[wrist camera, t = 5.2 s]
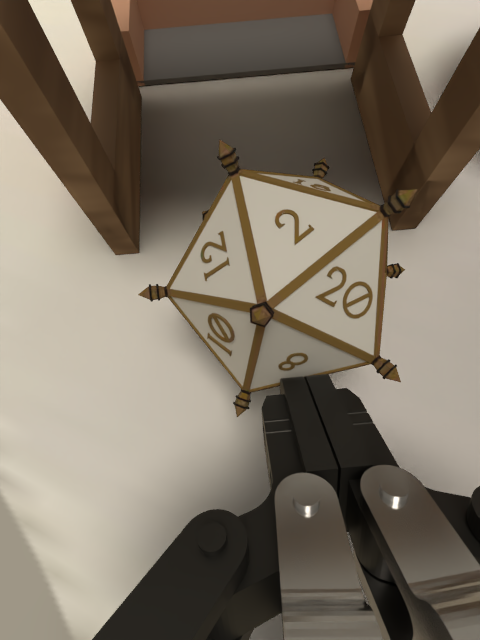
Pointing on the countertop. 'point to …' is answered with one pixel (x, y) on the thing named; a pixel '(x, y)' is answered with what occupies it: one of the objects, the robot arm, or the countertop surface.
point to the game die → (286, 277)
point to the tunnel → (125, 105)
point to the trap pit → (238, 37)
